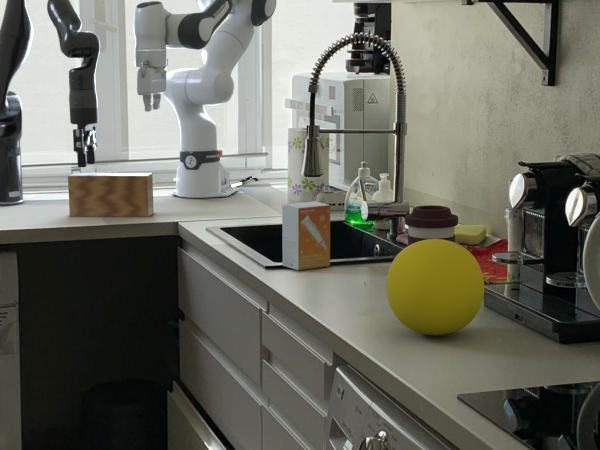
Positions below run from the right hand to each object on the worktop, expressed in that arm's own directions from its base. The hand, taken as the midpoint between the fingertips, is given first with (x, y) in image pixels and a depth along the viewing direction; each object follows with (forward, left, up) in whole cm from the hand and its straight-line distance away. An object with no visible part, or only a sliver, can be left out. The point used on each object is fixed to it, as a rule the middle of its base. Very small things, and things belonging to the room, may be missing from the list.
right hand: (152, 110), depth 294 cm
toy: (+104, +106, -28) cm, 151 cm away
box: (+13, -7, -28) cm, 32 cm away
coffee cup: (+72, +97, -28) cm, 124 cm away
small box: (+62, +69, -28) cm, 97 cm away
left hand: (+15, -13, -14) cm, 24 cm away
